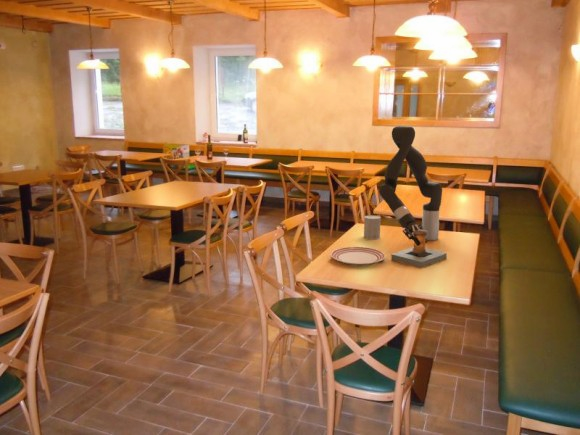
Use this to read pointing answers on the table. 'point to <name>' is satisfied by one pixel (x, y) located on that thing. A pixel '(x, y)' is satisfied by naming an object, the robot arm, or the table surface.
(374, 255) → the dinner plate
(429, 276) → the table surface
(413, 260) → the grey rectangular frame
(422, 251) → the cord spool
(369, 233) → the speckled tan cylinder
